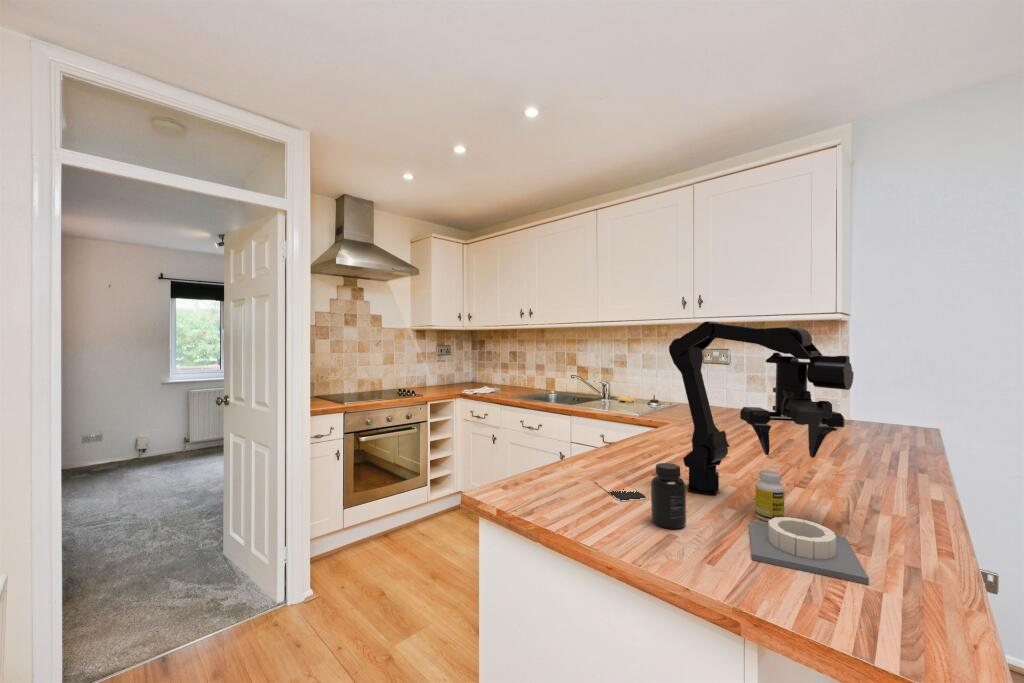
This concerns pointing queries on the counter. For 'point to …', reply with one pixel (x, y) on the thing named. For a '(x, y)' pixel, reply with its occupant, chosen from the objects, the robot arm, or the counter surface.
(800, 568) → the bottle holder
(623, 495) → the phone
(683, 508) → the supplement bottle
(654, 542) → the counter surface
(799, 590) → the counter surface
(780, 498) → the supplement bottle
